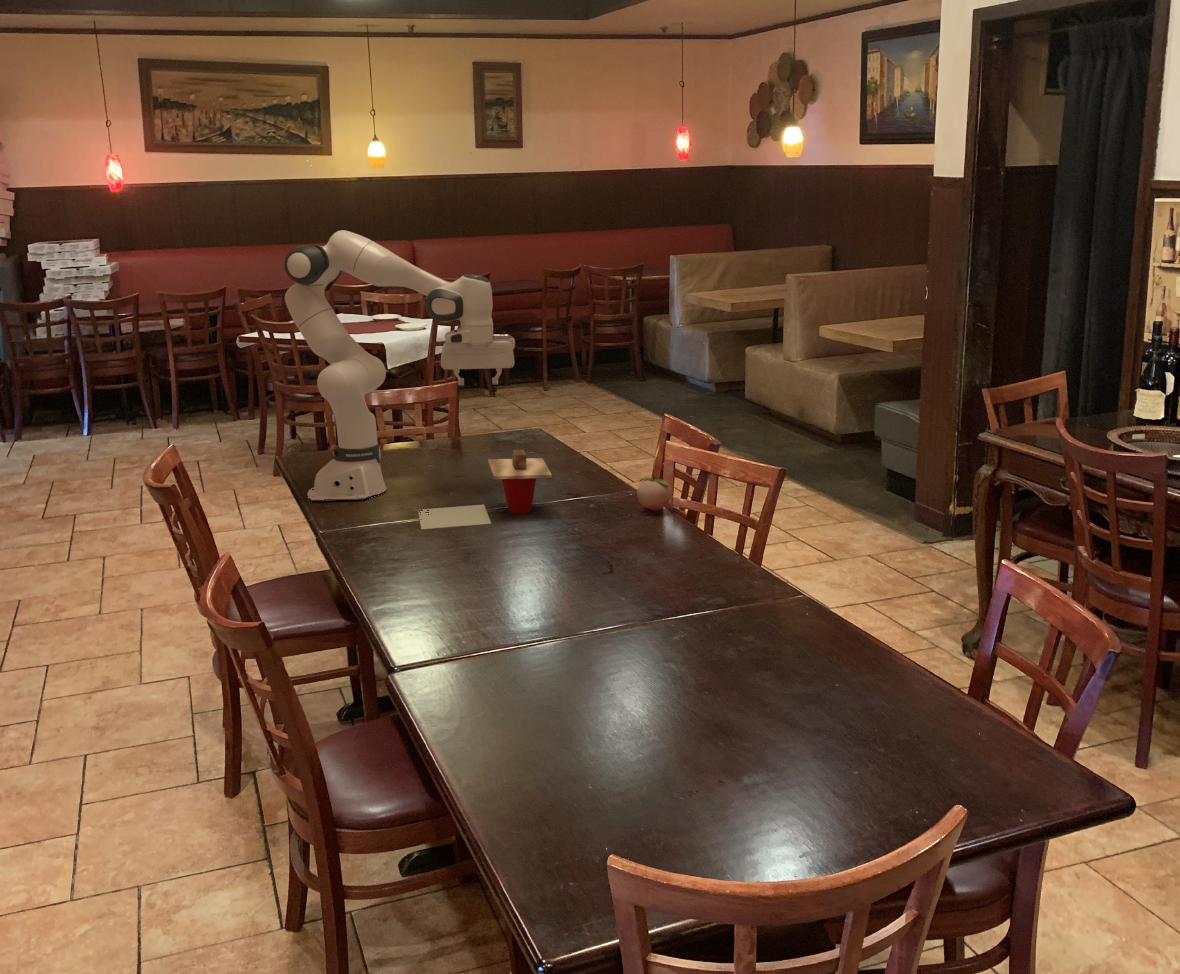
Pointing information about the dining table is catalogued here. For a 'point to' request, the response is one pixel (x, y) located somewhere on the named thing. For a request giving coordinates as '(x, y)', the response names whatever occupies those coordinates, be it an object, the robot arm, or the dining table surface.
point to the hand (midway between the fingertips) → (478, 384)
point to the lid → (519, 467)
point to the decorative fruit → (654, 493)
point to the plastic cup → (519, 494)
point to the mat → (454, 516)
